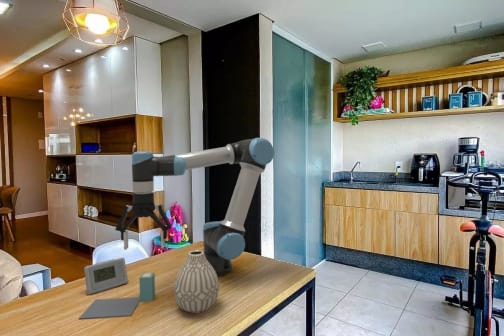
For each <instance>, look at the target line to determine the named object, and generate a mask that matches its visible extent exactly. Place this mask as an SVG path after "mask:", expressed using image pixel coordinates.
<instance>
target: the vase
mask: <svg viewBox="0 0 504 336" xmlns="http://www.w3.org/2000/svg"><path fill="white" fill-rule="evenodd" d="M218 277H219V276H217V274H216V272H215V270H214V268H213V267H212V265H211V264H210V263H209V262H208V261H207V259H206V257H205V254H204V250H201V249H196V250H190V251H189V252H188V254H187V257H186V260H185V261H184V263H183V264H182V265H181V267H180V269H179V271H178V272H177V275H176V277H175V280H174V285H173V293H174V299H175V301H176V303H177V304H178V306H179V307H180V309H182V310H184V311H185V312H187V313H190V314H200V313H204V312H205V311H208V310H209V309H210V308H211V307H212V306H213V305H214V304H215V302H216V300H217V298H218V296H219V291H220V282H219V278H218Z"/></svg>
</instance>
